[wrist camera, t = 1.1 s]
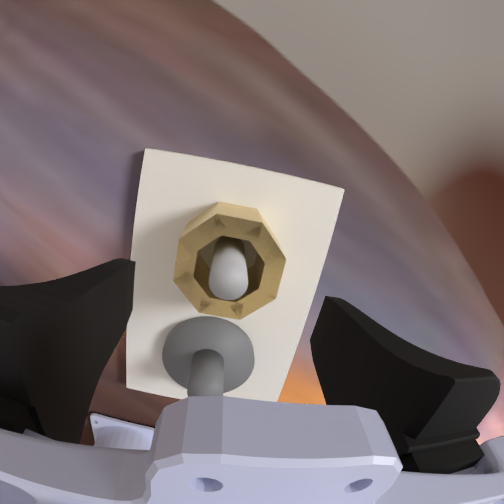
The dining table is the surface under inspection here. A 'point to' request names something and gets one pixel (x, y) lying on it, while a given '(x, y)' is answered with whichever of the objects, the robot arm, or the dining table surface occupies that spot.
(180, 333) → the assembly board
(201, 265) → the brass collar
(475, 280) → the dining table surface
